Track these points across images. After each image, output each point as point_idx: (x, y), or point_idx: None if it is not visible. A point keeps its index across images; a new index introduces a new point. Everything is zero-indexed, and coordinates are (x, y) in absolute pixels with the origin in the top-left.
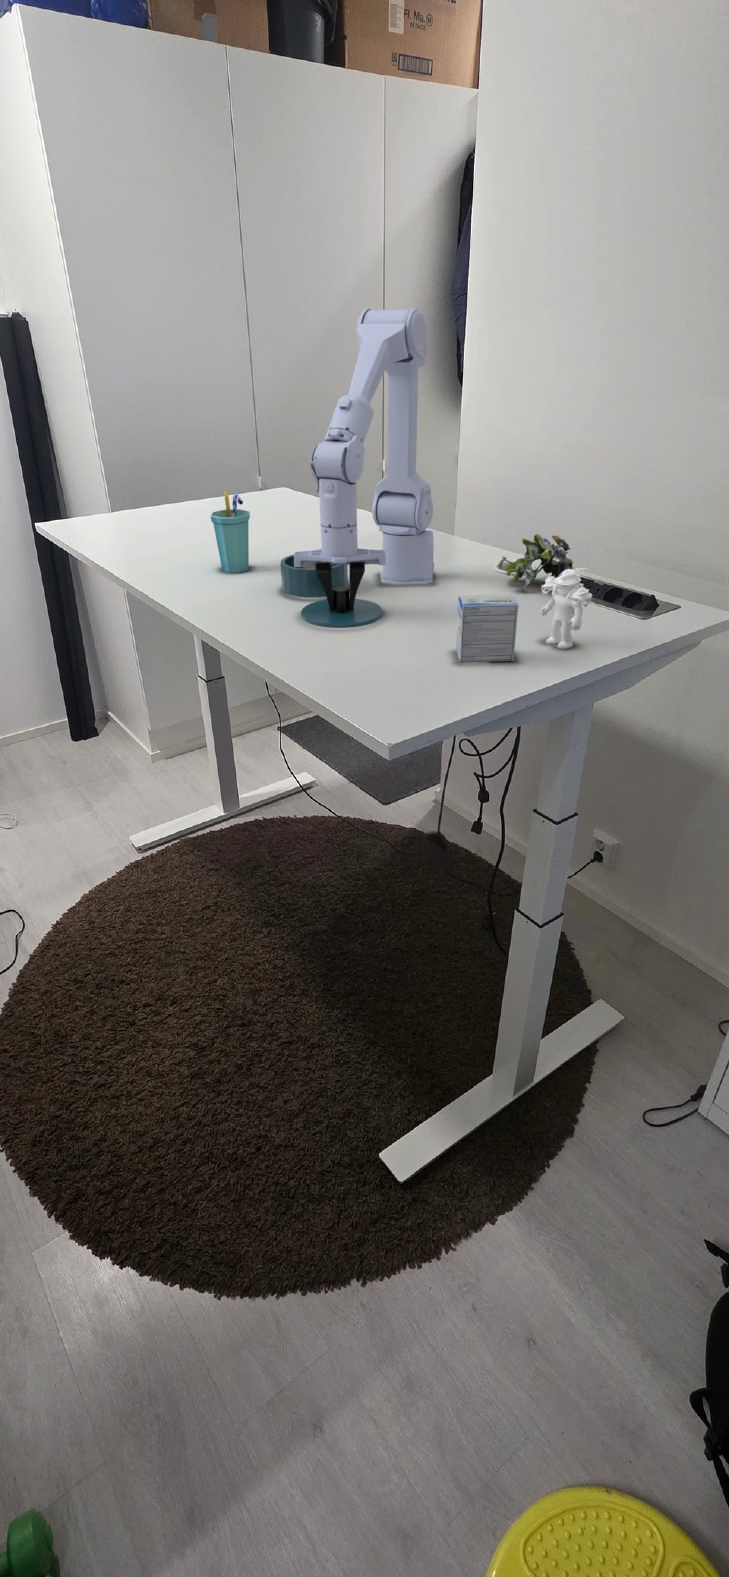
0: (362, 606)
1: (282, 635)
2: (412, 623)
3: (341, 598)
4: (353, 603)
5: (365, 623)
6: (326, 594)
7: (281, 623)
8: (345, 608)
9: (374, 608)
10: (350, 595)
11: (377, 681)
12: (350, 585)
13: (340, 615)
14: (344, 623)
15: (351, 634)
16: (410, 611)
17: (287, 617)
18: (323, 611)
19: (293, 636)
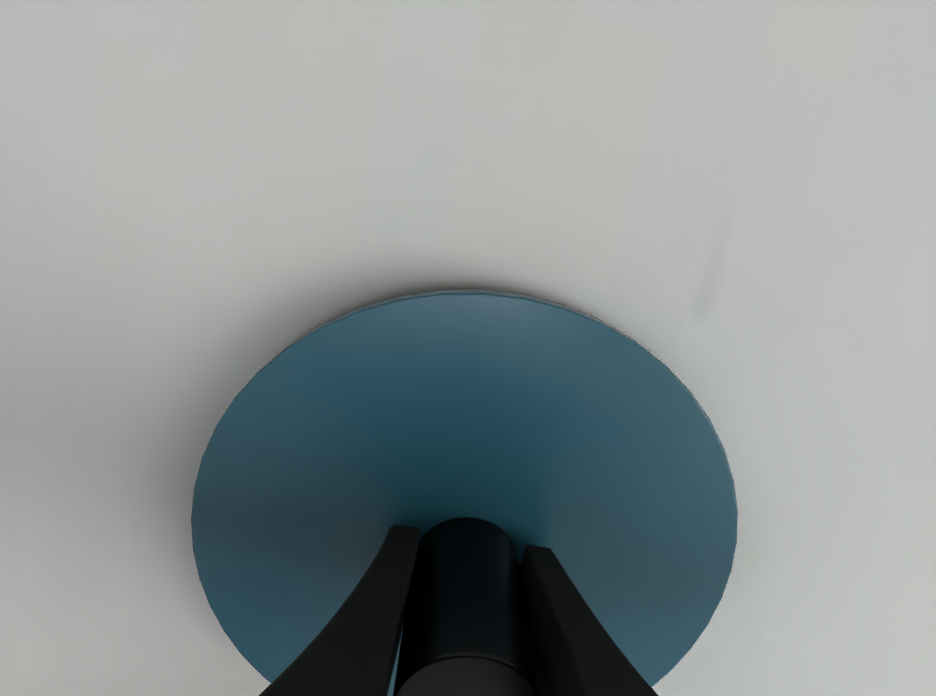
0: (319, 604)
1: (915, 302)
2: (12, 329)
3: (475, 599)
4: (382, 551)
5: (336, 319)
6: (613, 644)
7: (839, 509)
8: (446, 538)
9: (242, 556)
10: (396, 601)
11: None
12: (378, 688)
13: (491, 478)
14: (496, 309)
15: (461, 208)
16: (33, 539)
17: (772, 591)
18: (584, 571)
19: (855, 265)
